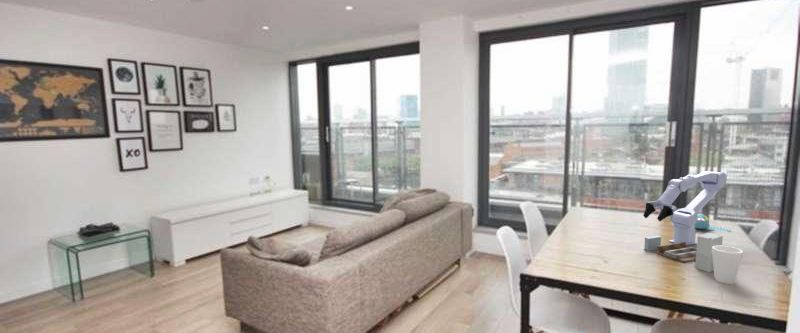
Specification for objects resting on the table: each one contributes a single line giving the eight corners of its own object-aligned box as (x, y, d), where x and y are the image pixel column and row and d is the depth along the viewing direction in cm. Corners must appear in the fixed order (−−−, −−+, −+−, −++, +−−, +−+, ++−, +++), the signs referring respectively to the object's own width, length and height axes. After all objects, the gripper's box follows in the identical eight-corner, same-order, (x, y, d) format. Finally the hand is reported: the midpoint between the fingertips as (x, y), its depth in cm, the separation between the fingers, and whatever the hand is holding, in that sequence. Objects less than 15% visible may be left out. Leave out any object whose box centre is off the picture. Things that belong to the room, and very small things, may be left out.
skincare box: (705, 264, 174) (707, 232, 172) (721, 269, 169) (723, 235, 167) (694, 268, 171) (696, 235, 169) (710, 273, 165) (712, 238, 163)
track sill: (683, 249, 194) (684, 241, 194) (711, 257, 182) (711, 249, 181) (657, 253, 189) (657, 245, 189) (683, 262, 177) (683, 254, 177)
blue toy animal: (732, 214, 224) (733, 221, 212) (731, 229, 225) (732, 236, 213) (672, 208, 241) (670, 214, 229) (671, 222, 242) (669, 228, 231)
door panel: (656, 247, 198) (657, 235, 198) (660, 248, 196) (661, 236, 196) (644, 249, 196) (644, 237, 195) (647, 250, 194) (648, 238, 193)
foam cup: (703, 276, 162) (706, 246, 160) (724, 275, 163) (727, 244, 161) (724, 286, 153) (727, 253, 151) (746, 284, 153) (749, 252, 152)
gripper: (650, 190, 203) (634, 210, 201) (677, 195, 189) (661, 215, 187) (657, 200, 205) (641, 219, 203) (684, 205, 191) (668, 225, 189)
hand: (651, 218), depth 195 cm, fingers open, 7 cm apart
